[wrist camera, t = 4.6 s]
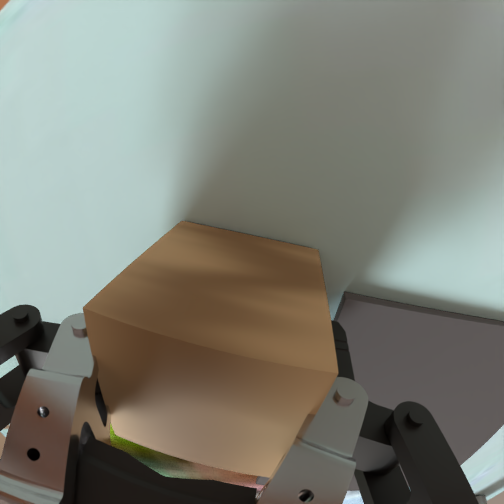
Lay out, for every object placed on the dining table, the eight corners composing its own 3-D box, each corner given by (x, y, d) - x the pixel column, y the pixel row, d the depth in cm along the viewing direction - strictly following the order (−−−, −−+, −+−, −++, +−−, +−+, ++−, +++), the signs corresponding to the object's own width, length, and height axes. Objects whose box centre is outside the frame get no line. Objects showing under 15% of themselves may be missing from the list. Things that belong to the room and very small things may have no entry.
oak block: (318, 249, 10) (338, 372, 5) (285, 354, 12) (274, 478, 7) (181, 220, 11) (82, 307, 5) (174, 328, 13) (115, 434, 7)
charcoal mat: (565, 331, 10) (568, 335, 9) (439, 477, 17) (440, 481, 17) (344, 291, 11) (346, 298, 10) (256, 478, 18) (255, 483, 18)
